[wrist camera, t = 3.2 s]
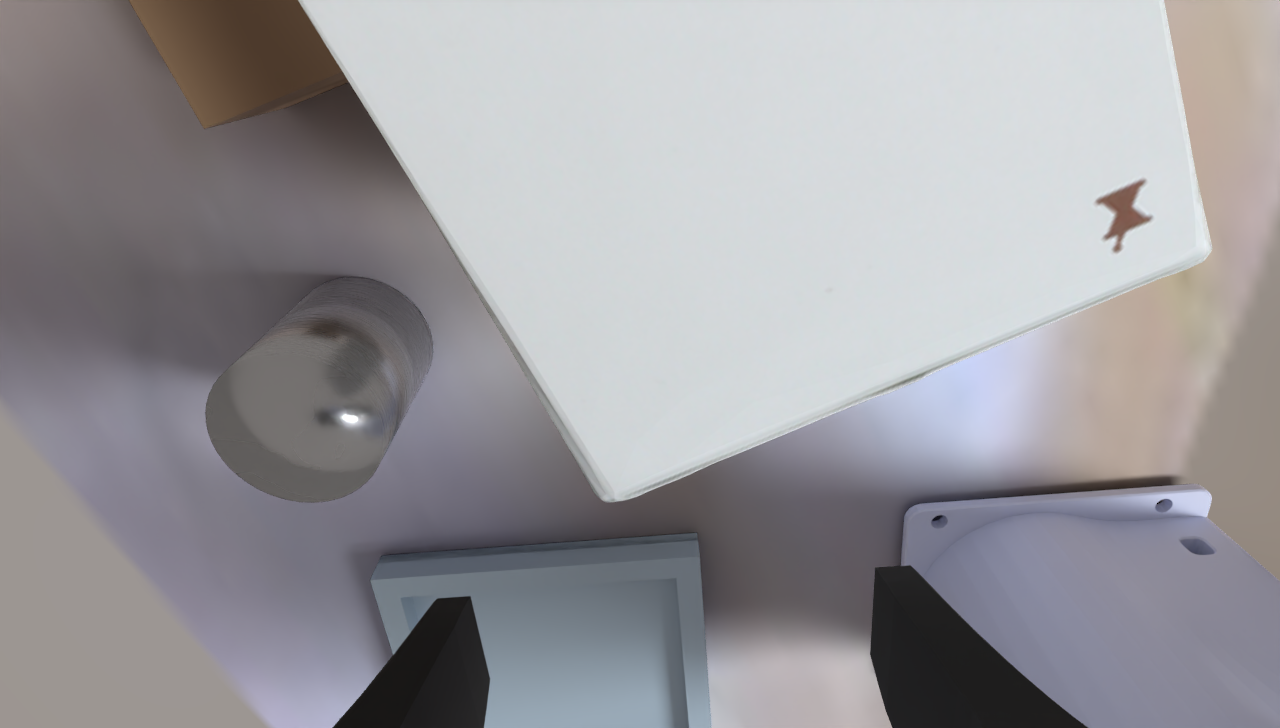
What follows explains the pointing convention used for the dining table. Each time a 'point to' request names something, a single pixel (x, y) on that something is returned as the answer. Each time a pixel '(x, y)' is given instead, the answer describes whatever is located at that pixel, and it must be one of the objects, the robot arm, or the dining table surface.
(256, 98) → the walnut block
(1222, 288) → the dining table surface
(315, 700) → the dining table surface
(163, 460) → the dining table surface
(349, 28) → the supplement box
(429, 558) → the tray
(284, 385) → the silver cylindrical canister
